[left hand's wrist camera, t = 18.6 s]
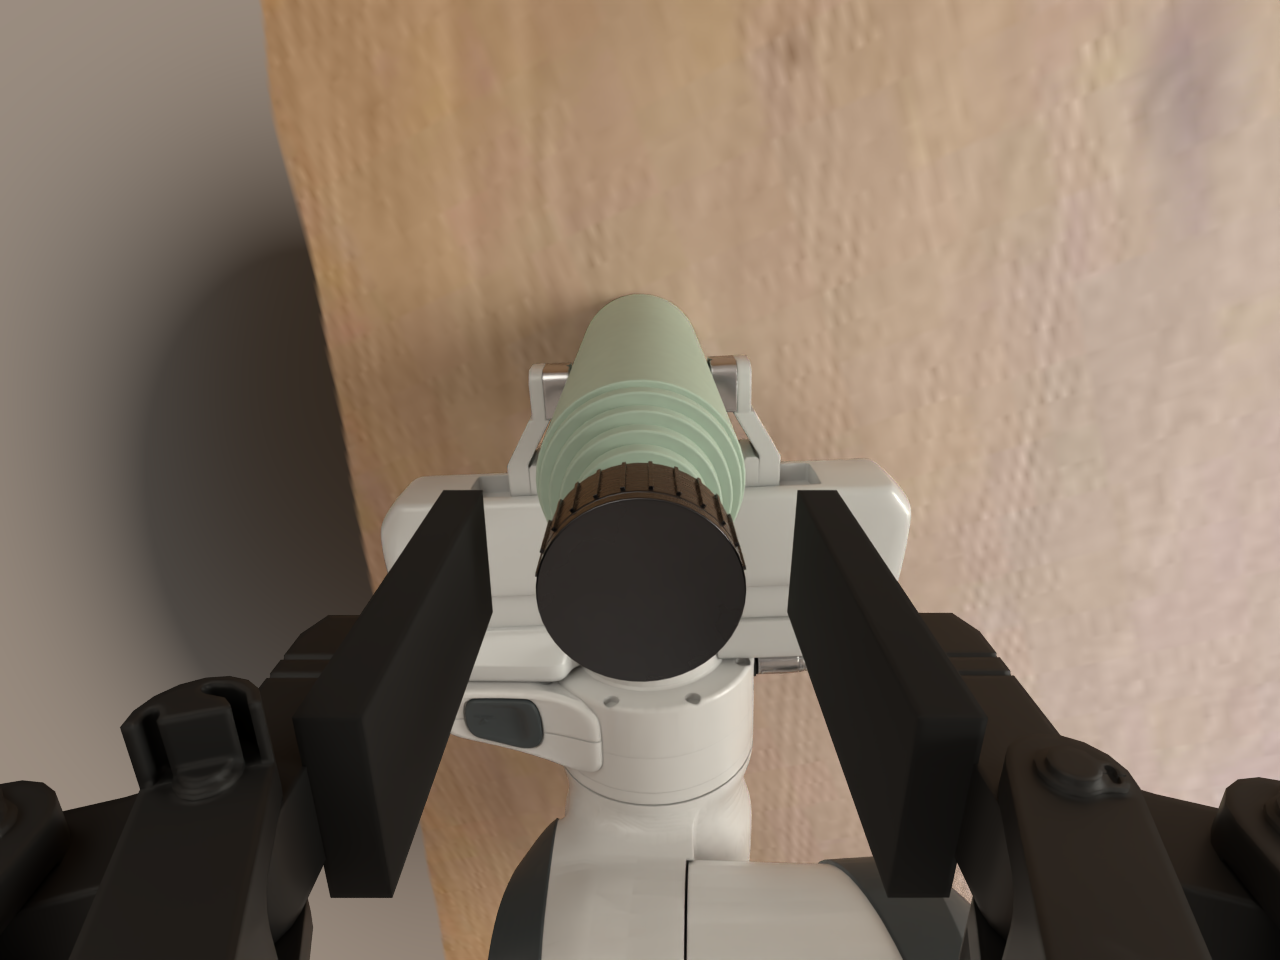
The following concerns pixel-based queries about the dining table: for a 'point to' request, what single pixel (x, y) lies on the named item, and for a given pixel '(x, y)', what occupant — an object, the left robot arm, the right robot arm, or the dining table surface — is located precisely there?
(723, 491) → the bottle
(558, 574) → the cap
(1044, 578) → the dining table surface
